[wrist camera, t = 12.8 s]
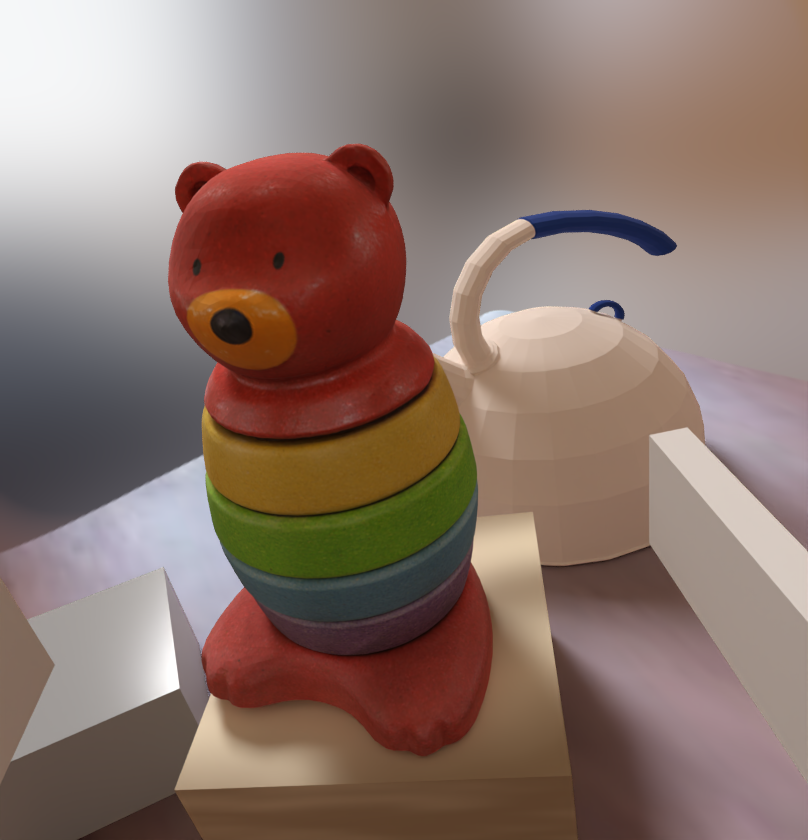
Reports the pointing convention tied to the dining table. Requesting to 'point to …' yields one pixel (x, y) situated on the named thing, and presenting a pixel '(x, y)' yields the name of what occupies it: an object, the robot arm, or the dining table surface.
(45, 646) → the stoneware block
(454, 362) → the kettle
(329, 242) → the stacking bear
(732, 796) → the dining table surface
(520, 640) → the birch block
